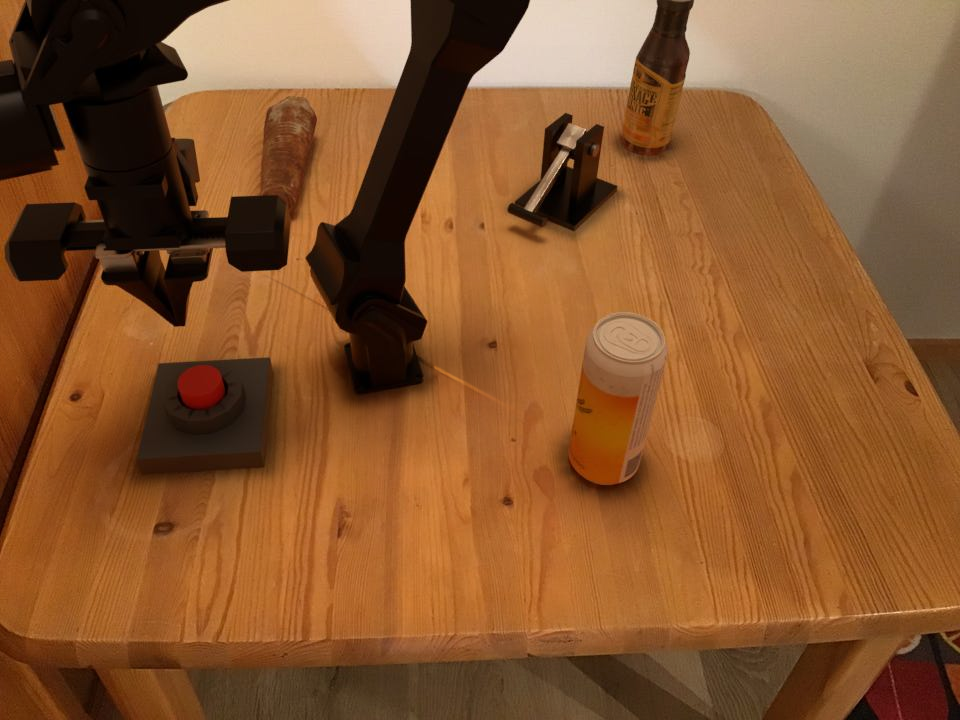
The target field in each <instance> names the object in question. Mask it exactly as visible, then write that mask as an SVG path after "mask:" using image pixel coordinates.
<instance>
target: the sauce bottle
mask: <svg viewBox="0 0 960 720" xmlns="http://www.w3.org/2000/svg"><path fill="white" fill-rule="evenodd" d="M694 3H695V0H656V11H655V16H654V21H653V24H652V27H651V28H650V30H649V32H648V33H647V36H646V38H645V40H643V41H644V42H643V43H642V45H641V47H640V49H639V51H638V53H637V55H636V56H635V61H634V66H633V71H632V75H631V76H632V77H631V81H630V86H629V91H628V96H627V102H626V106H625V107H626V108H625V112H624V118H623V121H622V122H623V123H622V126H621V143H622V146H623V147H624V148H625V149H627V150H628V151H630V152H632V153H635V154H637V155H643V156H653V155H654V156H655V155H659V154H661V153H663V152H664V151H666V150H667V149H668V147H669V145H670V141H671V138H672V134H673V130H674V126H675V122H676V117H677V113H678V110H679V105H680V100H681V98H682V94H683V93H682V92H683V89H684V84H685V80H686V77H687V76H686V75H687V69H688V65H689V62H690V55H691V51H690V50H691V49H690V47H689V44H688V41H687V38H686V32H687V29H688V28H687V25H688V21H689V18H690V17H689V16H690V12H691V10H692V9H693V7H694Z"/></svg>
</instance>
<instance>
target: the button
mask: <svg viewBox="0 0 960 720" xmlns="http://www.w3.org/2000/svg"><path fill="white" fill-rule="evenodd" d="M177 386H178V389H179V392H180V395H181V398H182V401H183V403H184V404H185V405H186V406H187V407H189V408H192V409H197V410H201V409H207V408H210V407H213V406H215V405H216V404H218V403H219V402H220V401H221V400H222V398H223V397H224V394H225V387H224V384H223V380H222V377H221V374H220V372H219V371H218V370H217V369H216V368H214V367H212V366H208V365H199V366H195V367H192V368H190V369H188V370H186V371H185V372H184V373H182V374H181V376H180V377H179V379H178V383H177Z"/></svg>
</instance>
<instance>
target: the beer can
mask: <svg viewBox="0 0 960 720" xmlns="http://www.w3.org/2000/svg"><path fill="white" fill-rule="evenodd" d="M668 356H669V350H668V344H667V342H666V337H665V333H664V330H663V329H662V328H661V326H659V324H657V323H656V322H655V321H654V320H652V319H651V318H649V317H647V316H644V315H642V314H639V313H636V312H628V311H620V312H619V311H618V312H613V313H609V314H607V315H605V316H603V317H601V318H600V319H599V320H598V321H596V323H595V324H594V327H593V328H592V329H591V330H590V331H589V333H588V334H587V336H586V339H585V345H584V353H583V359H582V364H581V371H580V377H579V383H578V390H577V395H576V402H575V408H574V415H573V419H572V427H571V433H570V440H569V445H568V459H569V462H570V464H571V466H572V468H573V469H574V470H575V471H576V472H577V473H578V474H579V475H580V476H581V477H583V478H584V479H585V480H587V481H589V482H591V483H593V484H596V485H601V486H613V485H617V484H621V483H624V482H626V481H627V480H629V479H632V477H633V476H634V475H635V474H636V472H637V471H638V469H639V467H640V464H641V459H642V456H643V452H644V448H645V444H646V441H647V436H648V434H649V430H650V426H651V422H652V417H653V414H654V411H655V406H656V402H657V398H658V393H659V390H660V386H661V383H662V379H663V375H664V371H665V368H666V364H667V360H668Z"/></svg>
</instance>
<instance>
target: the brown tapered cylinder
mask: <svg viewBox="0 0 960 720" xmlns="http://www.w3.org/2000/svg"><path fill="white" fill-rule="evenodd" d="M317 117H318V116H317V115H316V112H315V111H314V109H313V108H312V106H311V104H310V102H309V100H308V99H307V98H306V97H303V96H302V97H301V96H290V95H289V96H287V97H285V98H284V99H281V100H280V101H278V102H277V103H276V104H274V105H272V106H270V107H268V109H267V110H266V113H265V119H264V124H263V125H264V126H263V141H262V151H261V160H260V161H261V163H260V165H261V166H260V190H259V193H260V194H259V196H263V195H278V196H279V197H281V198H282V199H283V200H284V201H285V202H286V203H287V204H288V208H289V214H290V215H292V214H293V213H294V212H295V211H296V209H297V205H298V199H299V195H300V194H299V193H300V190H301V188H302V184H303V180H304V175H305V172H306V167H307V163H308V158H309V153H310V150H311V147H312V144H313V138H314V137H315V136H314V135H315V132H316V127H317V123H318V118H317Z"/></svg>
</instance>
